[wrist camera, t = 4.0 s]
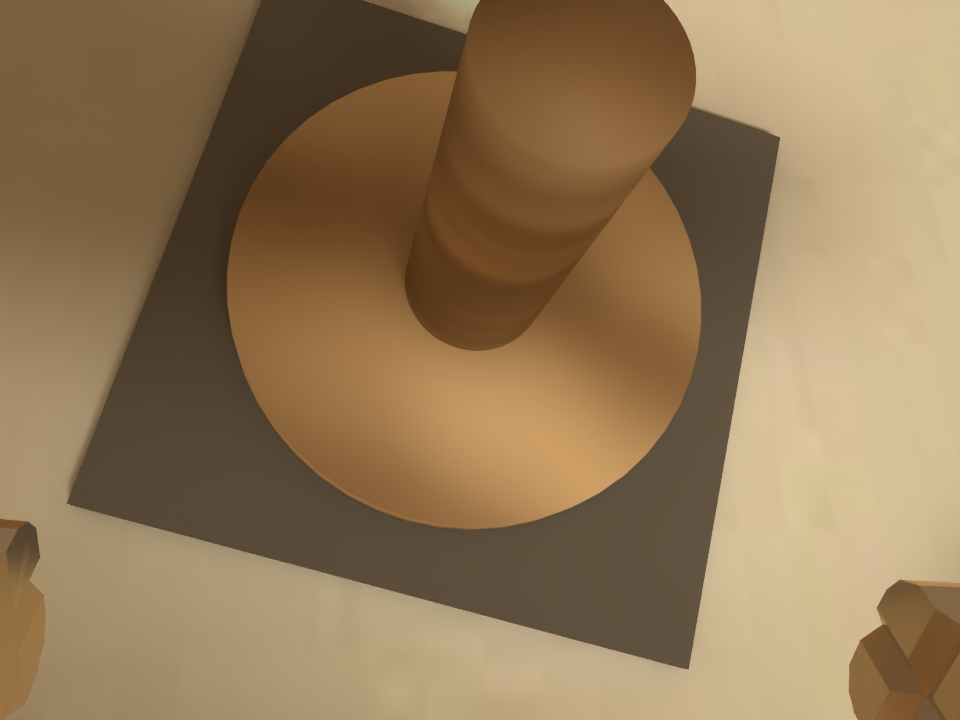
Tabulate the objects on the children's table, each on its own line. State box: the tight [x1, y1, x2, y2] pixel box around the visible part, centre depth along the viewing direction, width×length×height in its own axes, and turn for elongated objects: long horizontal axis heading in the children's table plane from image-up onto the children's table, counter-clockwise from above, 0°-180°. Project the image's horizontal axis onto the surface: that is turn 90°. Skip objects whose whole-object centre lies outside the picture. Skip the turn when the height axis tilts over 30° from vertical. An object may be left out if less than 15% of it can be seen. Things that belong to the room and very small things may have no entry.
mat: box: [67, 0, 780, 669], centre depth 22 cm, size 14×14×1 cm
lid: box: [227, 0, 701, 530], centre depth 17 cm, size 11×11×10 cm
